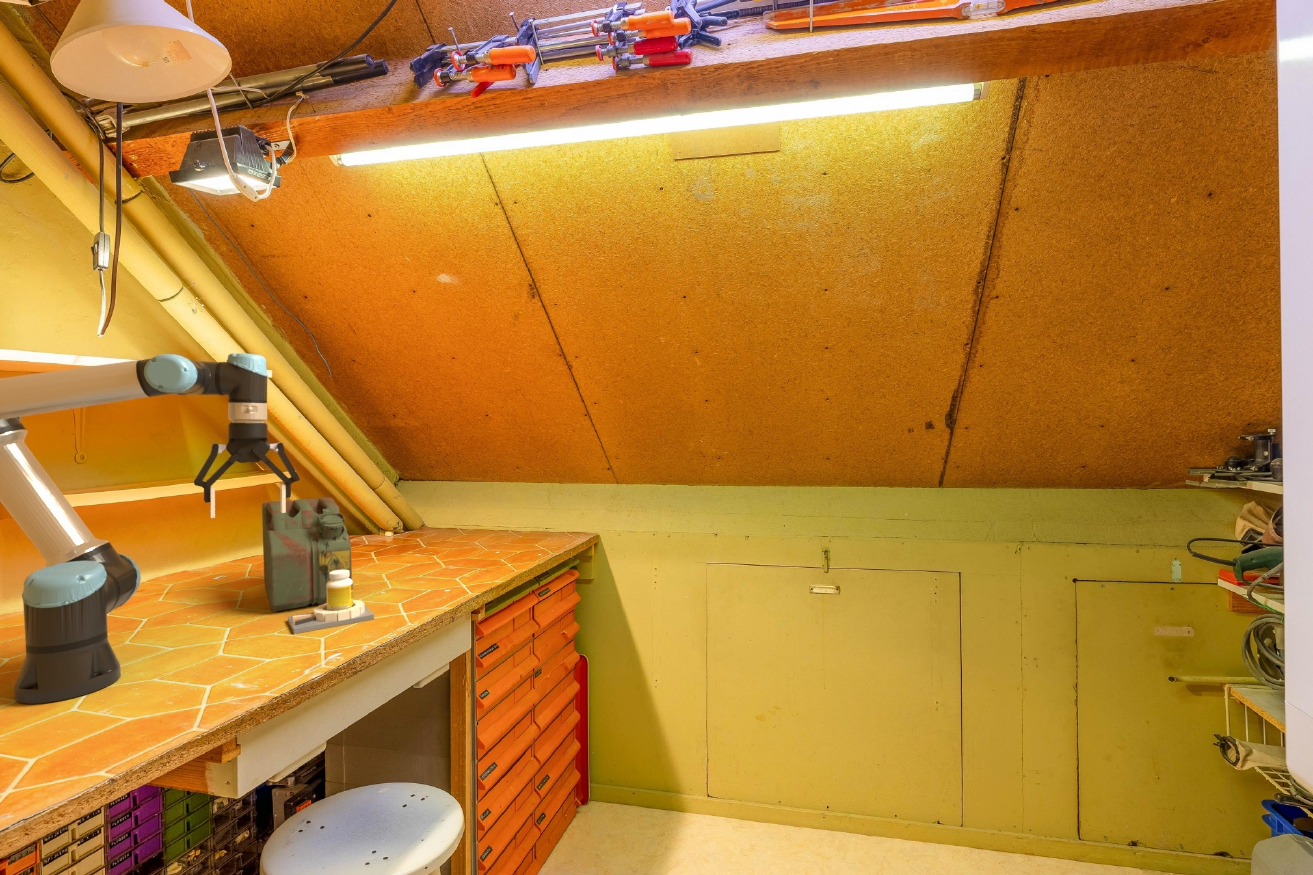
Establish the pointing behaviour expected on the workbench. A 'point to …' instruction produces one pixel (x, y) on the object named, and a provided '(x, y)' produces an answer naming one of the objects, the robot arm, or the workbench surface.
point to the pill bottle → (339, 591)
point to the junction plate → (327, 624)
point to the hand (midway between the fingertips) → (248, 514)
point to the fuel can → (302, 550)
